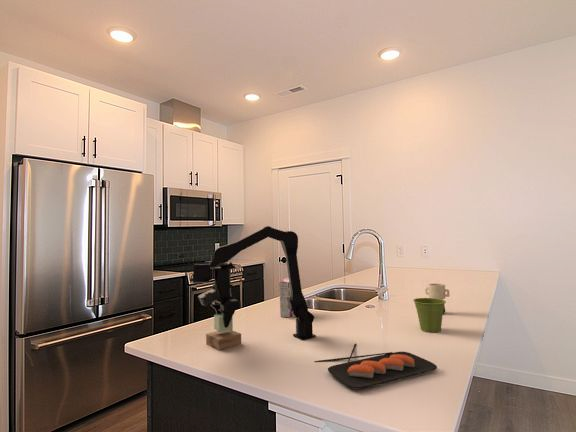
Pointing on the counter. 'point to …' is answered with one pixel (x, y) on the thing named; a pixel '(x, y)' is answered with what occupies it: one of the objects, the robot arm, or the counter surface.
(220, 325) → the green cube
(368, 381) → the sushi plate
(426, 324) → the plant pot
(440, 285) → the character mug
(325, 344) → the counter surface
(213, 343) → the walnut block
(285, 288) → the candy bar box
